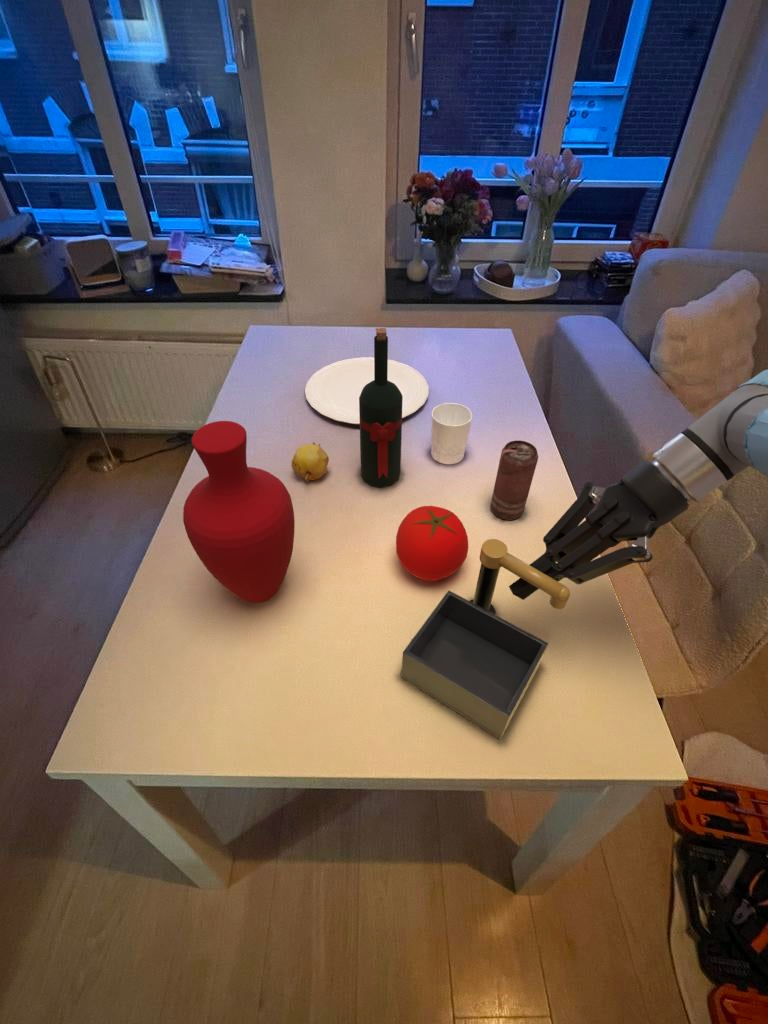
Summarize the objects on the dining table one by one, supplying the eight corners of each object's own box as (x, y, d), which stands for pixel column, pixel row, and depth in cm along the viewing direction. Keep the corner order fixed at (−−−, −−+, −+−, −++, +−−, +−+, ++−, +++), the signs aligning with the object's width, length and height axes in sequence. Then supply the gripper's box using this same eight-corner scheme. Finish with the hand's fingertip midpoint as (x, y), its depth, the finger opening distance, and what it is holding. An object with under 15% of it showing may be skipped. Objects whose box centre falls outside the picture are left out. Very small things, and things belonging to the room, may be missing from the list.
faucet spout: (473, 564, 72) (476, 549, 70) (487, 550, 74) (490, 534, 72) (558, 615, 66) (564, 600, 64) (570, 599, 68) (577, 583, 66)
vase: (192, 605, 82) (126, 453, 61) (247, 541, 91) (207, 391, 70) (272, 640, 77) (233, 489, 56) (321, 568, 87) (303, 417, 66)
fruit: (324, 470, 96) (336, 437, 103) (287, 459, 95) (301, 427, 102) (318, 495, 101) (329, 462, 108) (283, 485, 100) (297, 452, 107)
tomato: (469, 591, 84) (477, 548, 77) (396, 592, 84) (397, 548, 76) (460, 536, 92) (467, 492, 85) (394, 536, 92) (395, 493, 85)
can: (483, 502, 99) (494, 442, 89) (513, 495, 100) (528, 436, 90) (497, 524, 95) (511, 464, 85) (529, 517, 96) (546, 457, 86)
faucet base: (486, 633, 78) (500, 580, 69) (457, 618, 80) (467, 564, 71) (500, 611, 81) (515, 557, 72) (472, 597, 83) (483, 542, 74)
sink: (500, 740, 67) (509, 717, 63) (401, 677, 73) (402, 652, 69) (537, 668, 74) (548, 642, 70) (444, 616, 81) (448, 590, 76)
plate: (344, 353, 139) (344, 346, 137) (447, 380, 129) (447, 373, 128) (281, 409, 120) (279, 402, 119) (395, 444, 111) (395, 437, 110)
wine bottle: (362, 496, 99) (357, 350, 78) (360, 462, 107) (355, 320, 86) (403, 494, 100) (410, 348, 79) (398, 460, 107) (403, 318, 86)
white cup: (431, 467, 106) (435, 426, 99) (425, 443, 111) (428, 403, 104) (469, 465, 106) (476, 424, 99) (462, 442, 112) (467, 401, 105)
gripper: (716, 530, 61) (552, 639, 69) (648, 460, 69) (510, 565, 78) (696, 506, 56) (522, 626, 65) (626, 434, 65) (482, 549, 73)
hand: (516, 593), depth 71 cm, fingers closed
